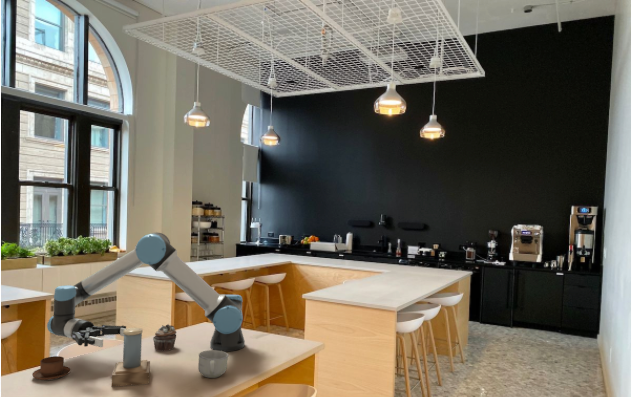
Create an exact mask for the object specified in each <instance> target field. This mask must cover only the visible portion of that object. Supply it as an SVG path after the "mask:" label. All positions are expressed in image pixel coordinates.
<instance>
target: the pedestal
mask: <svg viewBox="0 0 632 397" xmlns="http://www.w3.org/2000/svg"><path fill="white" fill-rule="evenodd" d="M150 374H151V360H148V359H143V360H142V359H141V365H140V366H139V367H136V368H124V367H123V361H118V362H115V365H114V367H113V370H112V374H111V384H110V385H111V388H113V387H114V388H115V387H125V386H126V387H127V386H139V385H149V382H150Z"/></svg>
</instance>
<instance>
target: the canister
mask: <svg viewBox="0 0 632 397" xmlns="http://www.w3.org/2000/svg"><path fill="white" fill-rule="evenodd" d="M143 330H144V329H143V328H141V327H129V328H126V329H125V330H124V331H123V334H124V336H123V350H122V351H123V352H122V354H123V355H122V362H123V367H124V368H136V367H139V366H140V365H141V360H142V342H143V341H142V339H143V338H142V336H143V335H142V334H143Z"/></svg>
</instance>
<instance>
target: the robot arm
mask: <svg viewBox="0 0 632 397" xmlns="http://www.w3.org/2000/svg"><path fill="white" fill-rule="evenodd" d="M142 265H148V266H150V268H152V269H153V270H154V271H156V272H162V273H163V274H165V276H166V277H167V278H168V279H170V280H171V281H172V283H174V284H175V285H176V286H177V287H178V288H180V290H182V291H183V292H184V294H186V295H188V296H189V298H191V299H192V300H193V301H194V302H195V303H196V304H197V305H198V306H199V307H200V308H201V309H203V311H204V316H205V317H206V318H207V319H208V321H210V322H211V323H212V324H213V327H214V331H213V334H212V336H211V340H210V345H209V346H210V349H212V350H217V351H223V352H234V351H239V350H242V349H243V348H244V347H245V344H246V343H245V338H244V335H243V330H242V324H243V320H244V319H243V318H244V316H243V302H244V301H243V296H241V295H239V294H225V293H224V294H220V293H218V292H217V291H216V290H215V289H214V288H213V287H212V286H210V285H209V284H208V282H206V281H205V280H204V279H203V278H202V277H201V276H200V275H199V274H197V272H196V271H194V270H193V269H192V268H191V267H190V266H189V265H188V264H187V263H186V262H184V261H183V260H182V258H180V256H178V250H177V249H176V248H175V247H174V246H173V245H172V244H171V240H170V239H169V237H167V235H165V234H164V233H163V232H157V231H156V232H152V233H148V234H145V235H143V236H142V237H140V239H138V241H137V243H136V245H135V246H134V249H132V250H131V251H129V252H128V253H126V254H124V255H122V256H121V257H119V258H117V259H115V260H114V261H112V262H111V263H109V264H108V265H106V266H103V267H102V268H101V269H99V270H97V271H96V272H94V273H93V274H91V275H89V276H87V277H85V278H84V279H82V280H81V281H79V282H78V283H76V284H74V285H71V284H70V285H69V284H68V285H59V286H57V287H55V288H54V295H53V315H52V316H51V317H50V318H48V322H47V324H46V328H47V331H49V333H51V334H53V335H56V336H58V337H59V336H60V337H65V338H68V339H72V340H73V341H75V342H76V344H77V345H78V346H82V345H83V346H84V347H88V346H89V345H90V346H95V347H98V348H103V347H104V338H99V337H104V336H105V335H106V336H107V335H108V336H109V335H111V336H113V335H116V336H117V335H119V336H121V337H124V334H123V331H124V330H125V329H127V326H126V325H123V324H122V325H109V324H108V325H107V324H102V325H101V326H97V325H95V324H94V323H93V322H92V321H90V320H85V319H81V318H78V317H77V318H76V316H75V314H76V306H77V305H79V304H80V303H82V302H84V301H85V300H87V299H88V298H90V297H91V296H93V295H95V294H97V293H98V292H100V291H101V290H103V289H104V288H106V287H107V286H109V285H112V284H113V283H114V282H117V281H118V280H119V279H121V278H123V277H125V276H126V275H128V274H129V273H132V272H133V271H135V270H136V269H138V268H139V267H141V266H142Z"/></svg>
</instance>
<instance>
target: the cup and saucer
mask: <svg viewBox="0 0 632 397" xmlns="http://www.w3.org/2000/svg"><path fill="white" fill-rule="evenodd" d="M64 362H65V357H63V356H59V355H56V356H55V355H54V356H48V357H44V358H41V360H40V363H39V364H40V366H39V369H36V370H34V371H33V372H32V374H31V375H32V377H33V378H34V379H35V380H40V381H51V380H52V381H53V380H57V379H61V378H64V377H65V376H67V375H68V374H69V373H70V372H71V367H70V366H67V365H64Z"/></svg>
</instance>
